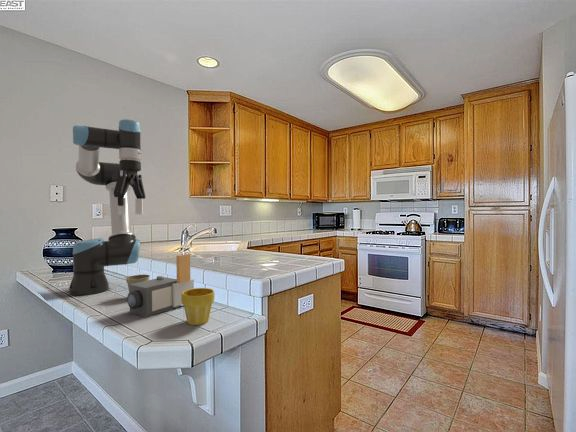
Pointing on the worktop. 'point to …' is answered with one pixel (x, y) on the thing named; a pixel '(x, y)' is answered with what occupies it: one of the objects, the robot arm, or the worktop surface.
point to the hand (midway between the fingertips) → (131, 214)
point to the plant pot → (197, 304)
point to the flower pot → (136, 279)
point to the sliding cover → (182, 278)
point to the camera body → (151, 296)
